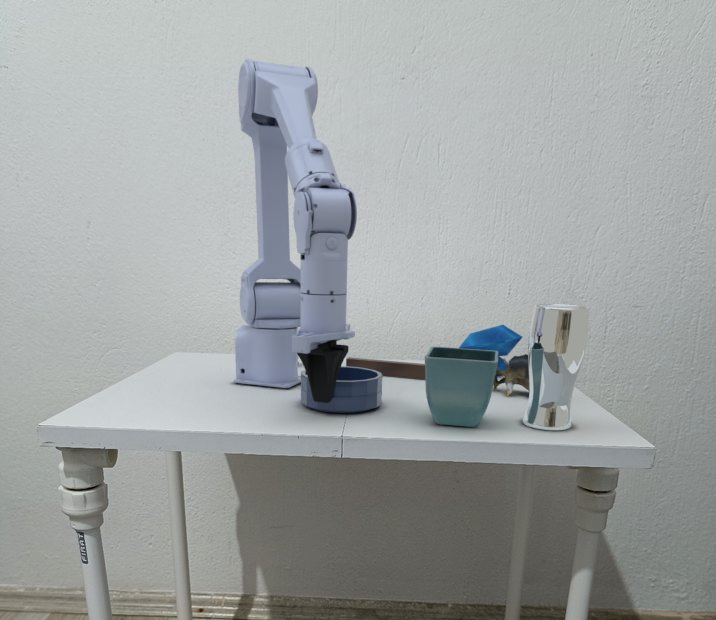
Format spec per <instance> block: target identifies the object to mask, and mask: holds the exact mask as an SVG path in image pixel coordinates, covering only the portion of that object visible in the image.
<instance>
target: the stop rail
mask: <svg viewBox="0 0 716 620" xmlns="http://www.w3.org/2000/svg"><path fill="white" fill-rule="evenodd" d="M345 366H349V367H359V368H366V369H371V370H375V371H378V372H380V373H381V374H382V376H383V377H393V378H402V379H403V378H404V379H414V380H424V381H426V380H425V363H418V362H408V361H397V360H396V361H395V360H386V359H385V360H384V359H374V358H373V359H372V358H362V357H350V356H349V357H347V358H345Z"/></svg>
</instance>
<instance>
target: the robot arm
mask: <svg viewBox="0 0 716 620" xmlns="http://www.w3.org/2000/svg"><path fill="white" fill-rule="evenodd" d="M238 74H239V75H238V84H237V94H238V95H237V96H238V115H239V116H238V117H239V118H238V119H239V122H240V131H242V132H243V133H244V134H245V135H248V137H250V138H251V143H252V148H253V154H254V176H255V177H254V178H255V179H254V180H255V202H256V206H255V207H256V230H257V233H256V234H257V259H256V260H255V261H254V262H253V263H251V264H250V265H249V266H247V267H246V268H245V269H244V270H243V272H242V274H241V276H240V290H239V309H240V314H241V317H242V320H243V321H244V322H245V323H246V324H242V325H241V326H240V327H239V328H238V329H237V331H236V335H235V339H234V350H235V351H234V354H235V355H234V357H235V379H233V383H235V384H243V385H244V384H245V385H253V386H262V387H272V388H280V389H281V388H282V389H289V388H291V387H294V386H296V385H298V384H301V375H299V364H298V362H299V360H300V362H301V363H302V365H303V368H304V370H306V373H307V376H308V380H309V384H310V388H311V393H312V397H313V400H314V402H323V403H329V402H331V400H332V397H333V393H334V389H335V384H336V380H337V376H338V373H339V370H340V367H341V366H342V364H343V363H344V360H345V359H346V356H347V355H348V353H349V345H346V344H338V341H342V340H350V339H351V338H354V337H355V335H356V331H355V330H351V324H348V323H347V302H348V301H347V298H348V294H347V293H348V259H349V257H348V254H349V253H348V250H349V246H348V245H349V240H351V239H352V237H353V235H354V234H355V230H356V228H357V227H356V226H357V219H358V208H357V207H358V206H357V201H356V196H355V193H354V191H353V189H352V188H350V187H347V185H346V184H345V183H341V182H340V180H339V177H338V174H337V172H336V168H335V165H334V162H333V159H332V156H331V153H330V150H329V148H328V146H327V144H325V143H324V142H323V141H321V140H319V139H317V134H316V129H315V124H314V119H313V117H314V113H315V111H316V108H317V103H318V97H319V84H318V78H317V75H316V73H315V72H314V69H313V68H312V67H311V66H305V67H302V66H295V65H288V64H282V63H281V64H279V63H273V62H264V61H257V60H252V59H251V58H246V59H244V61H243V63H241V65H240V69H239V73H238ZM289 183H290V187H291V190H292V193H293V196H294V203H293V213H292V216H293V227H294V231H295V237H296V239H295V240H296V250H297V253H298V254H300V267H299V266H297V265H296V264H295V263H293V262H292V261H291V253H290V252H291V249H290V215H289V214H290V213H289V209H290V208H289ZM259 280H286V282H283V281H282V282H281V281H280V282H279V281H278V282H277V281H264V282H263V281H262V282H260V281H259ZM298 357H299V358H298Z"/></svg>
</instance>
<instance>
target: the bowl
mask: <svg viewBox="0 0 716 620" xmlns="http://www.w3.org/2000/svg"><path fill="white" fill-rule="evenodd" d="M300 376H301V382H300V403H301V404H302V405H305V406H306V407H308V408H310V409H313V410H315V411H319V412H324V413H331V414H355V413H363V412H367V411H370V410H372V409H375V408H378V407H379V406H380V405H382V401H383V399H382V398H383V397H382V395H383V377H384V376H382V374H381V373H380V372H378V371H375V370H371V369H366V368H359V367H349V366H346V365H343V366H342V365H341V367H340V370H339V373H338V376H337V380H336V384H335V389H334V393H333V397H332V400H331V402H329V403H323V402H314V400H313V397H312V393H311V388H310V384H309V380H308V376H307V373H306V370H305V369H304V370H301V371H300Z"/></svg>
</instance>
